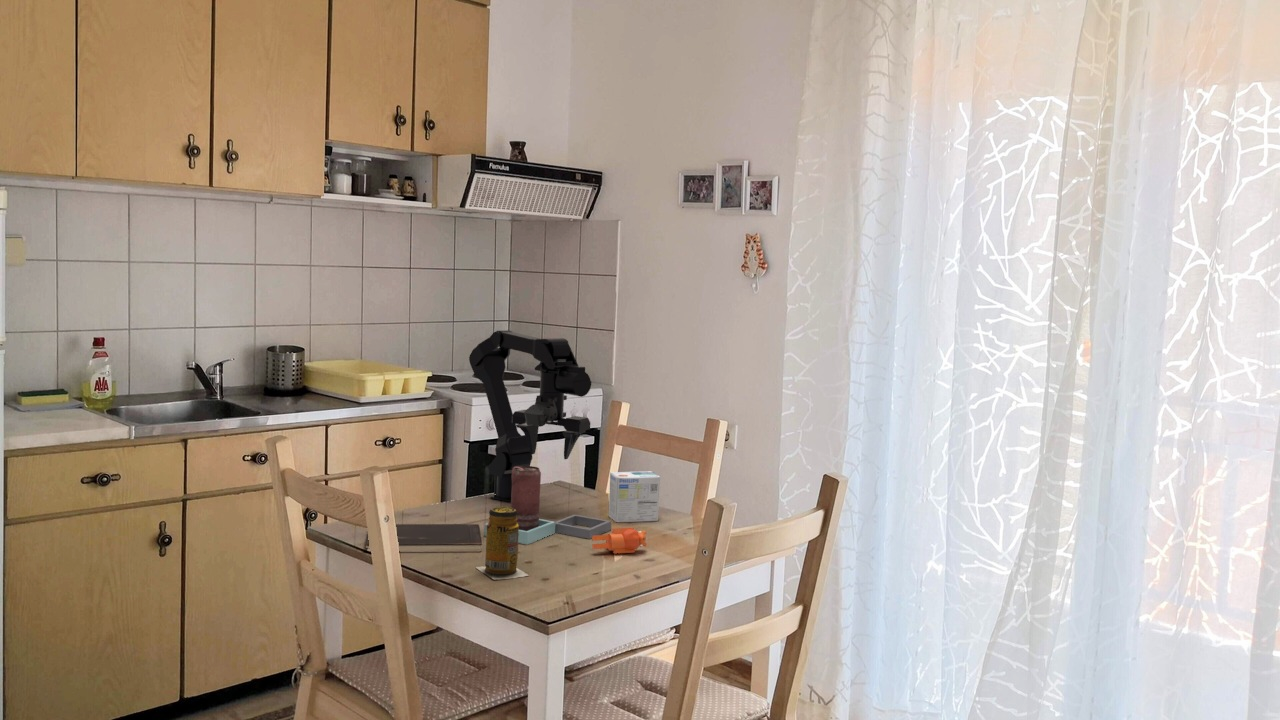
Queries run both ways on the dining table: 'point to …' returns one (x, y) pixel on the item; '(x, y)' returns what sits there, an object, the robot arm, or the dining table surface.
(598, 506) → the dining table surface
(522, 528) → the can
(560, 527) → the grey square tray
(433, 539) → the hardcover book
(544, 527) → the tray
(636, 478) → the light bulb box
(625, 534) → the orange toy figure
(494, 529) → the condiment
